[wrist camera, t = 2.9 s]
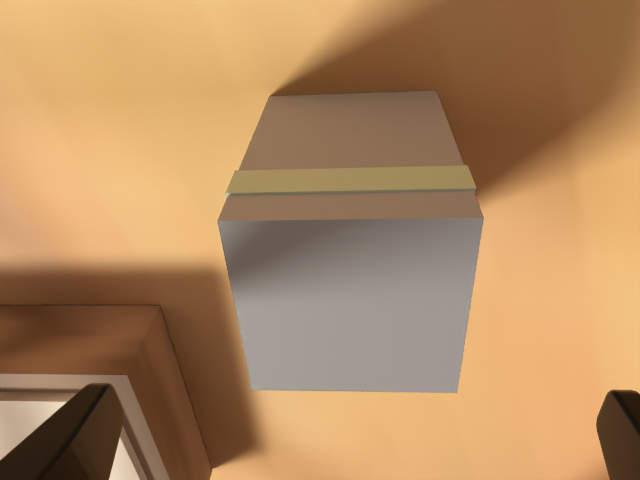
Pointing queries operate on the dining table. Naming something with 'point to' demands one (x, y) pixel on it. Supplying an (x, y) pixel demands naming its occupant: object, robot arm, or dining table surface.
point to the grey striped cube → (352, 244)
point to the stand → (101, 367)
